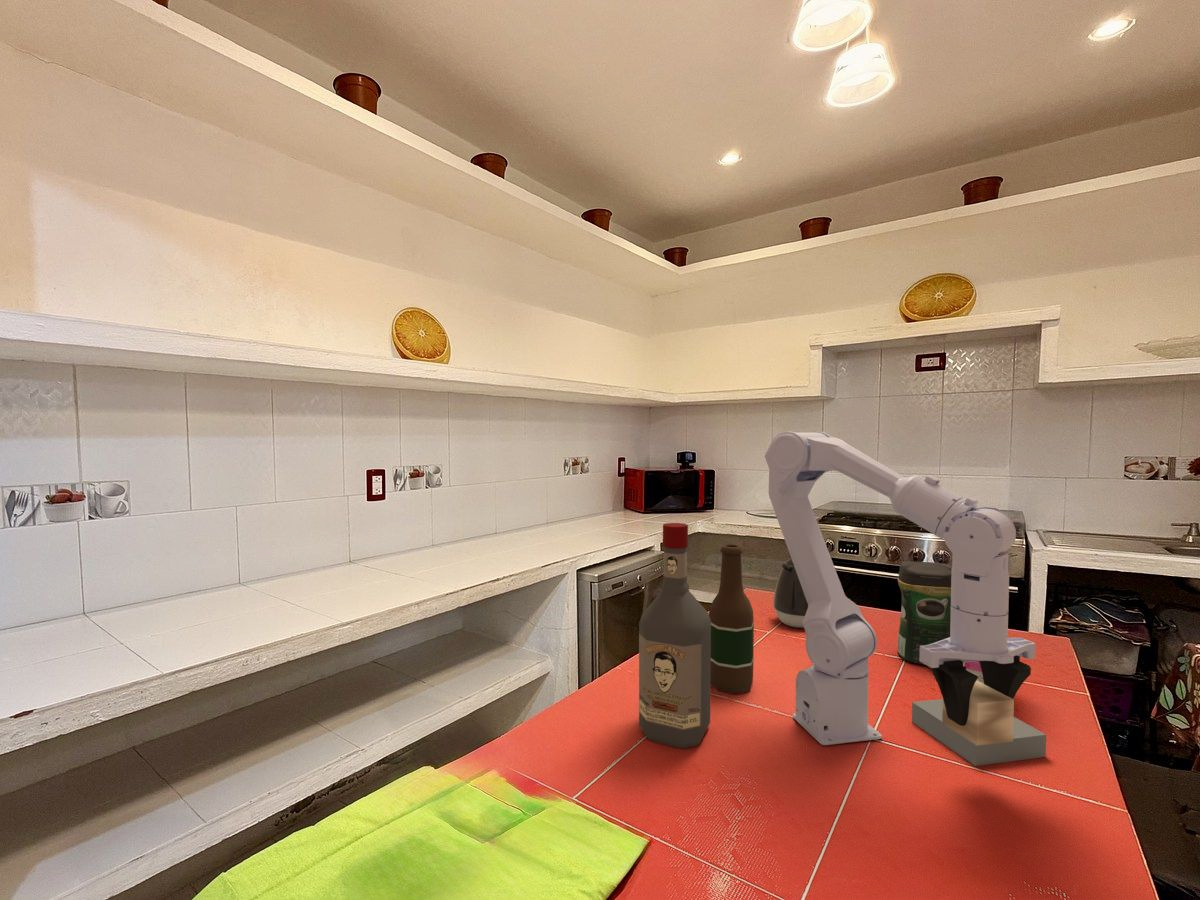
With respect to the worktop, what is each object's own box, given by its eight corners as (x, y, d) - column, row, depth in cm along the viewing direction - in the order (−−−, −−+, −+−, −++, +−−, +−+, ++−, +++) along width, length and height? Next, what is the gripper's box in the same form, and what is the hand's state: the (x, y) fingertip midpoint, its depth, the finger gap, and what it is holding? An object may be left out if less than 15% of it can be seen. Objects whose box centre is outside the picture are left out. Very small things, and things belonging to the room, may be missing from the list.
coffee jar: (949, 654, 106) (950, 559, 106) (961, 671, 99) (963, 569, 98) (893, 648, 110) (894, 556, 109) (901, 663, 102) (902, 565, 102)
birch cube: (976, 745, 63) (977, 703, 63) (942, 723, 68) (943, 683, 68) (1012, 741, 64) (1014, 699, 64) (976, 719, 69) (977, 680, 69)
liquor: (655, 708, 86) (656, 518, 85) (713, 721, 82) (714, 522, 81) (634, 738, 77) (634, 527, 76) (697, 754, 73) (698, 532, 72)
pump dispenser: (763, 622, 124) (763, 556, 124) (790, 613, 131) (790, 550, 130) (803, 635, 116) (804, 565, 116) (830, 625, 122) (831, 558, 122)
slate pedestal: (974, 766, 71) (975, 743, 71) (911, 721, 82) (912, 702, 81) (1045, 756, 73) (1046, 734, 73) (974, 714, 84) (975, 695, 83)
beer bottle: (723, 670, 99) (724, 539, 99) (762, 684, 94) (763, 545, 93) (698, 684, 94) (699, 545, 93) (738, 699, 88) (739, 552, 88)
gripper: (954, 623, 61) (951, 743, 61) (1062, 615, 63) (1058, 730, 64) (907, 604, 68) (905, 712, 68) (1006, 597, 70) (1003, 701, 71)
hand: (976, 719), depth 66 cm, fingers closed on birch cube, 5 cm apart
